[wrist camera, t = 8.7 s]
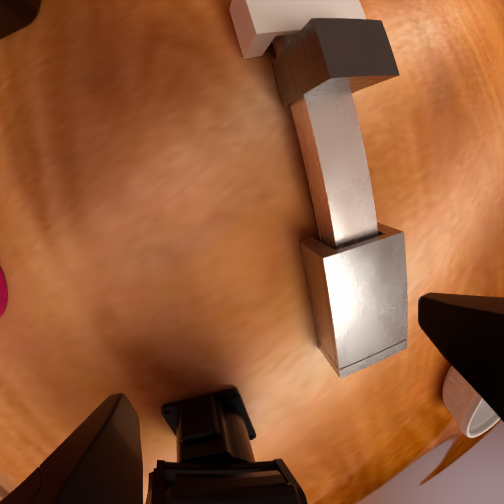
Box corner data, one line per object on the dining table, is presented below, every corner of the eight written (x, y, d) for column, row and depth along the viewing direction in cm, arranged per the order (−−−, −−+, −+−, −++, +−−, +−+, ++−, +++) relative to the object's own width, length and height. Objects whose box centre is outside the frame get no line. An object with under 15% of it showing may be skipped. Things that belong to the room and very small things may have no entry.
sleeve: (380, 324, 24) (406, 347, 20) (319, 349, 23) (340, 378, 19) (370, 220, 21) (403, 231, 17) (299, 241, 21) (323, 258, 17)
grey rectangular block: (340, 49, 18) (370, 29, 14) (243, 59, 17) (256, 34, 13) (324, 3, 16) (349, -22, 12) (229, 9, 16) (238, -22, 12)
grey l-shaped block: (363, 231, 21) (427, 259, 14) (314, 246, 21) (368, 283, 14) (311, 15, 16) (358, -33, 10) (258, 19, 16) (289, -38, 9)
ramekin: (508, 345, 31) (540, 366, 24) (450, 417, 32) (478, 445, 25) (490, 297, 27) (534, 321, 20) (418, 389, 28) (454, 427, 21)
